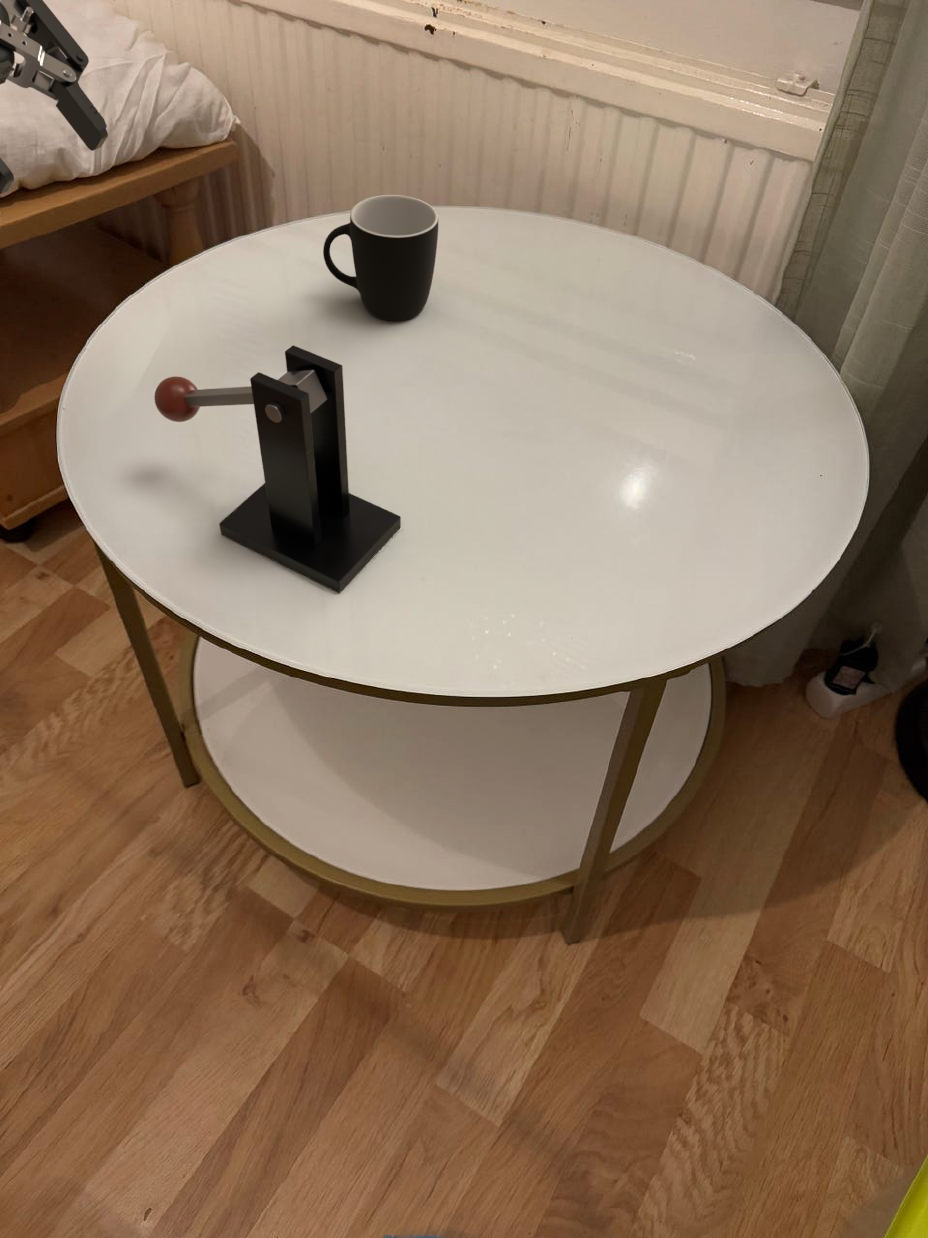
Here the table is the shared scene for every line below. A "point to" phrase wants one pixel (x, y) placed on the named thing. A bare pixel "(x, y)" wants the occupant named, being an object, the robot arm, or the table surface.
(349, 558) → the bracket
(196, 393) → the lever
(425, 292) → the mug
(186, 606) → the table surface
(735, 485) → the table surface
